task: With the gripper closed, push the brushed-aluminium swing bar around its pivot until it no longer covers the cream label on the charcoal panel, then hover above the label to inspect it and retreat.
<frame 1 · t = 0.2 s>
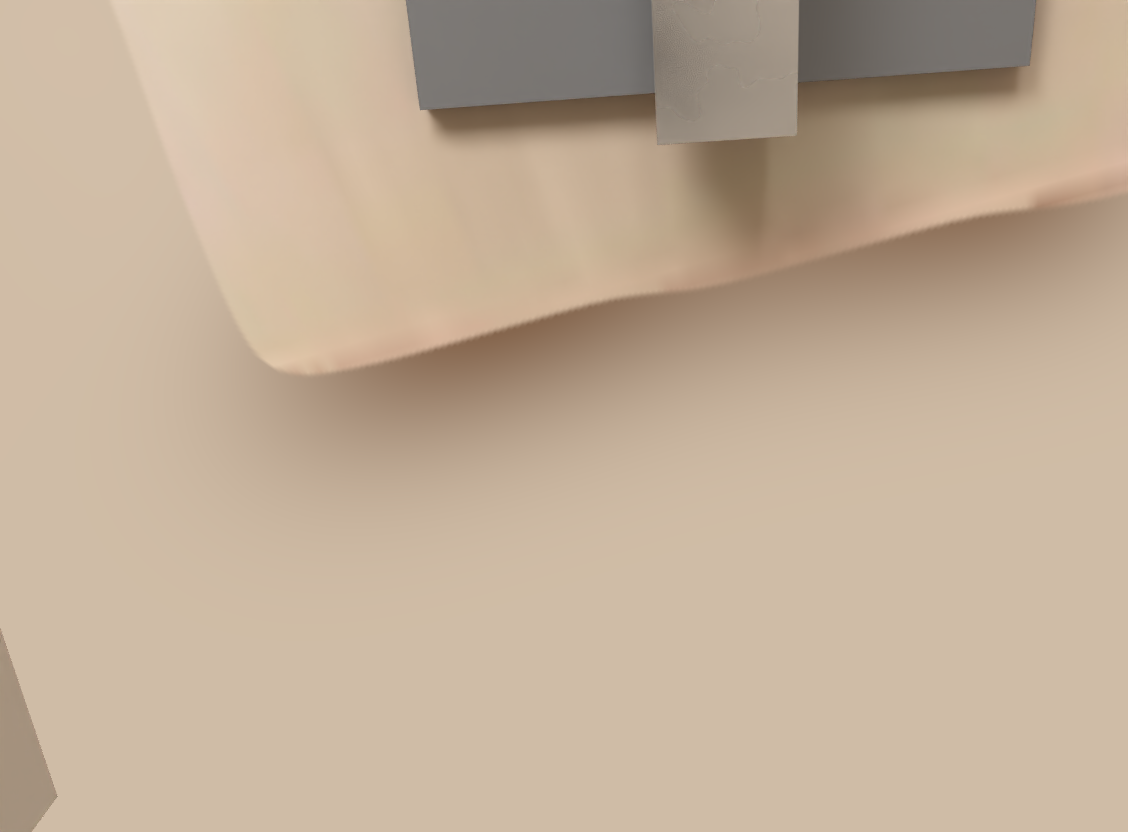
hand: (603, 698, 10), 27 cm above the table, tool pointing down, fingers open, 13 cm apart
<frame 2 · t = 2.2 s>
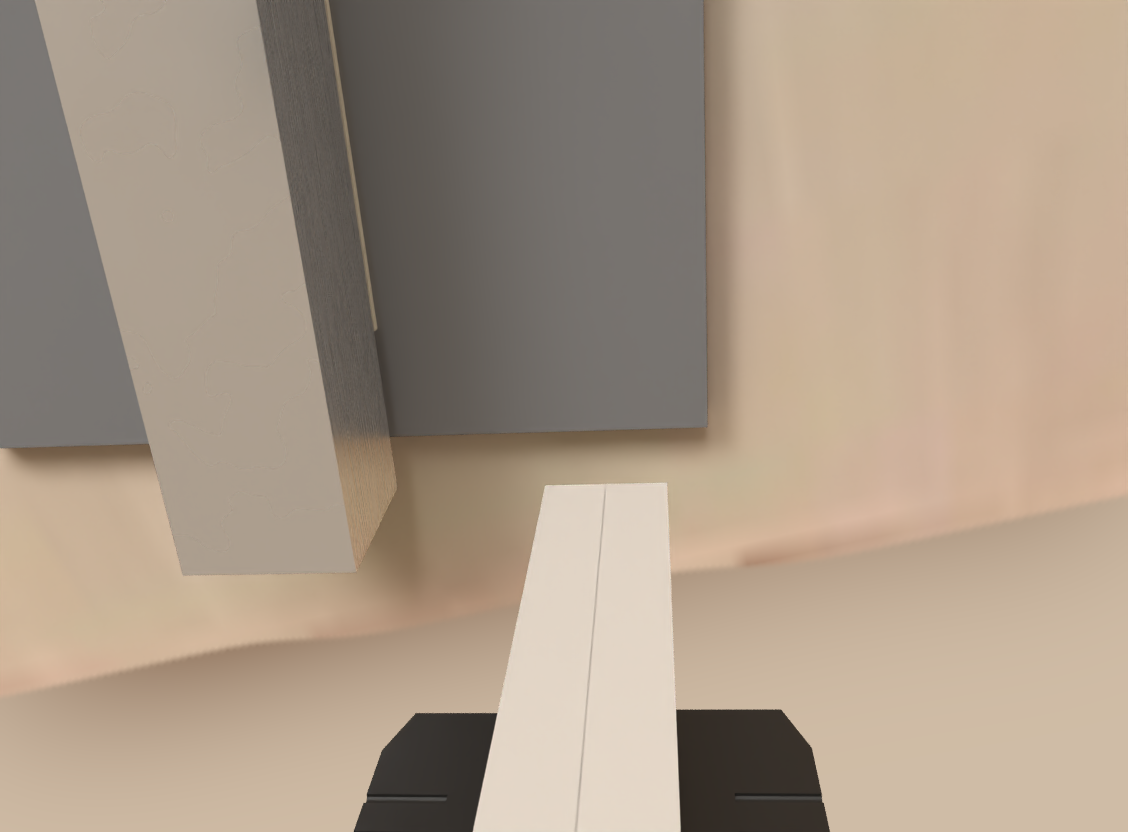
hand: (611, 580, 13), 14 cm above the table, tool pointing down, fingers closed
swing bar: (195, 72, 19), point 5 cm above the table, hinge at 0.0°
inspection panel: (270, 33, 23), on the table
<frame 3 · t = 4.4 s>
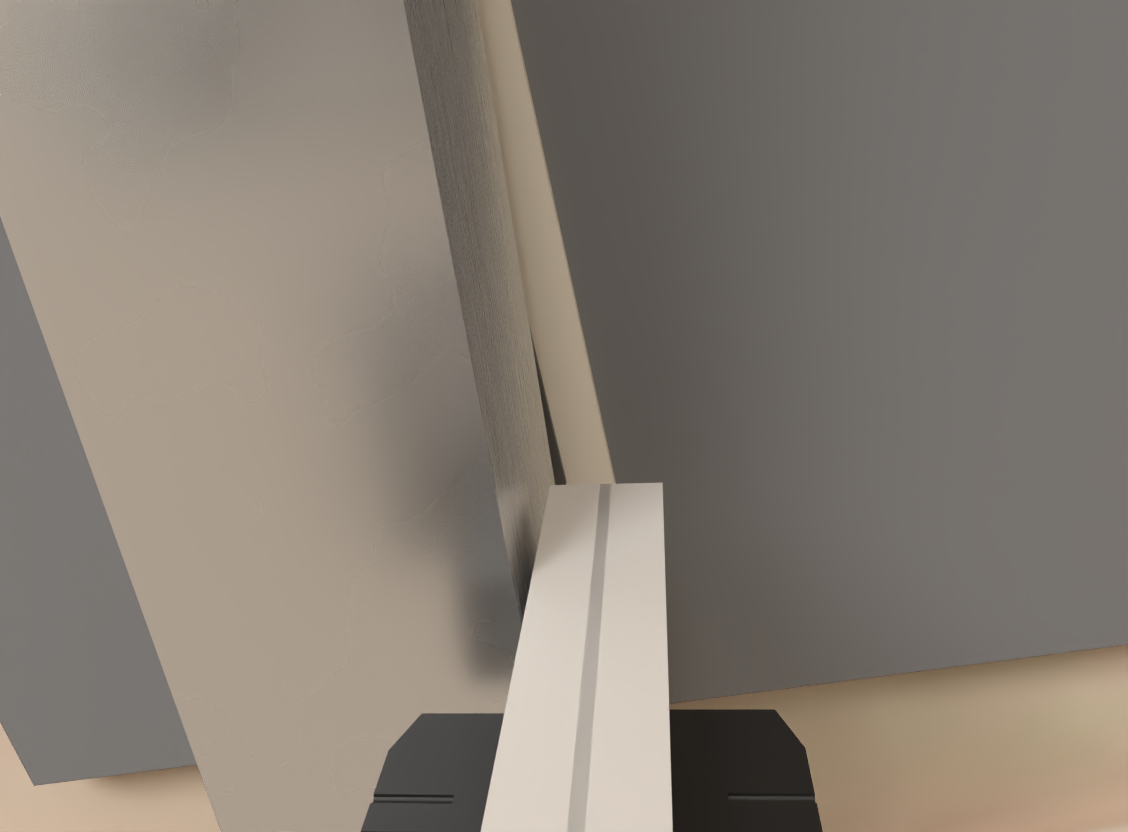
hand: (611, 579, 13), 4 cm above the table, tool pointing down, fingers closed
swing bar: (284, 225, 10), point 4 cm above the table, hinge at -4.2°, touching gripper
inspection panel: (416, 116, 14), on the table
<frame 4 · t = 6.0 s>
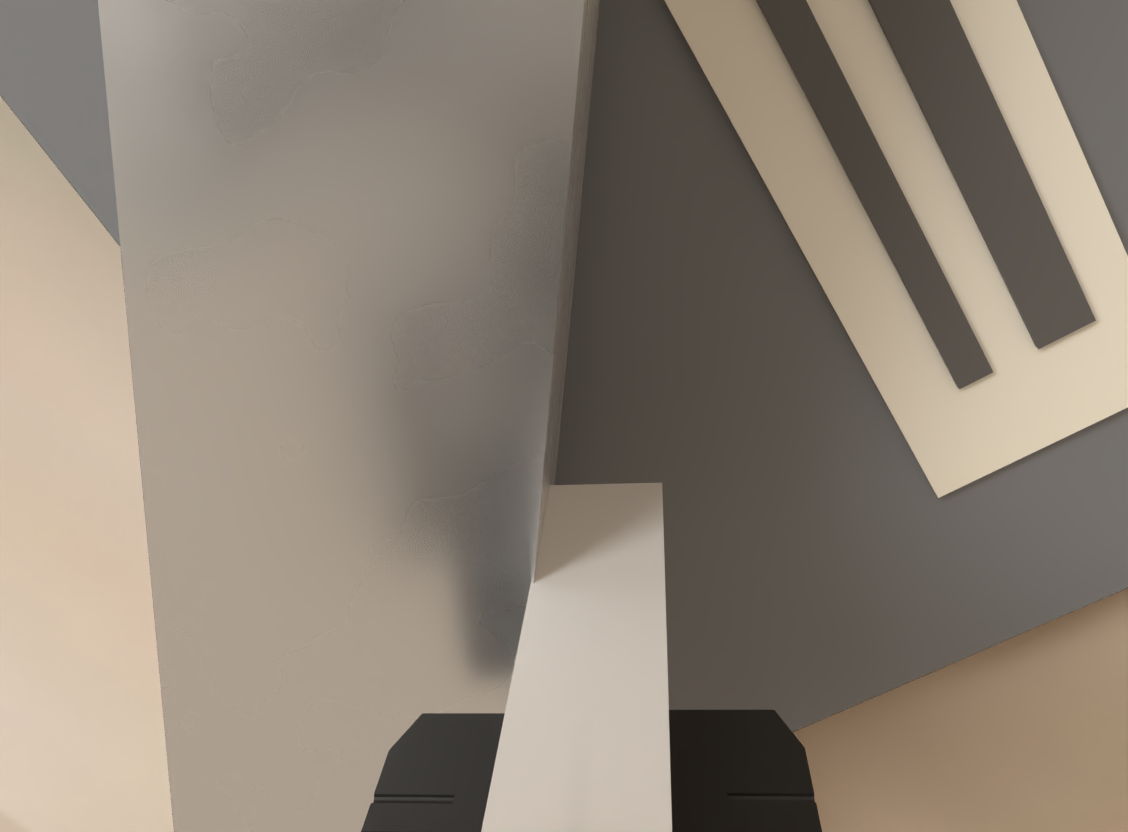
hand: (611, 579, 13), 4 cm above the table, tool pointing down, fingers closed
swing bar: (378, 176, 10), point 4 cm above the table, hinge at -37.4°, touching gripper
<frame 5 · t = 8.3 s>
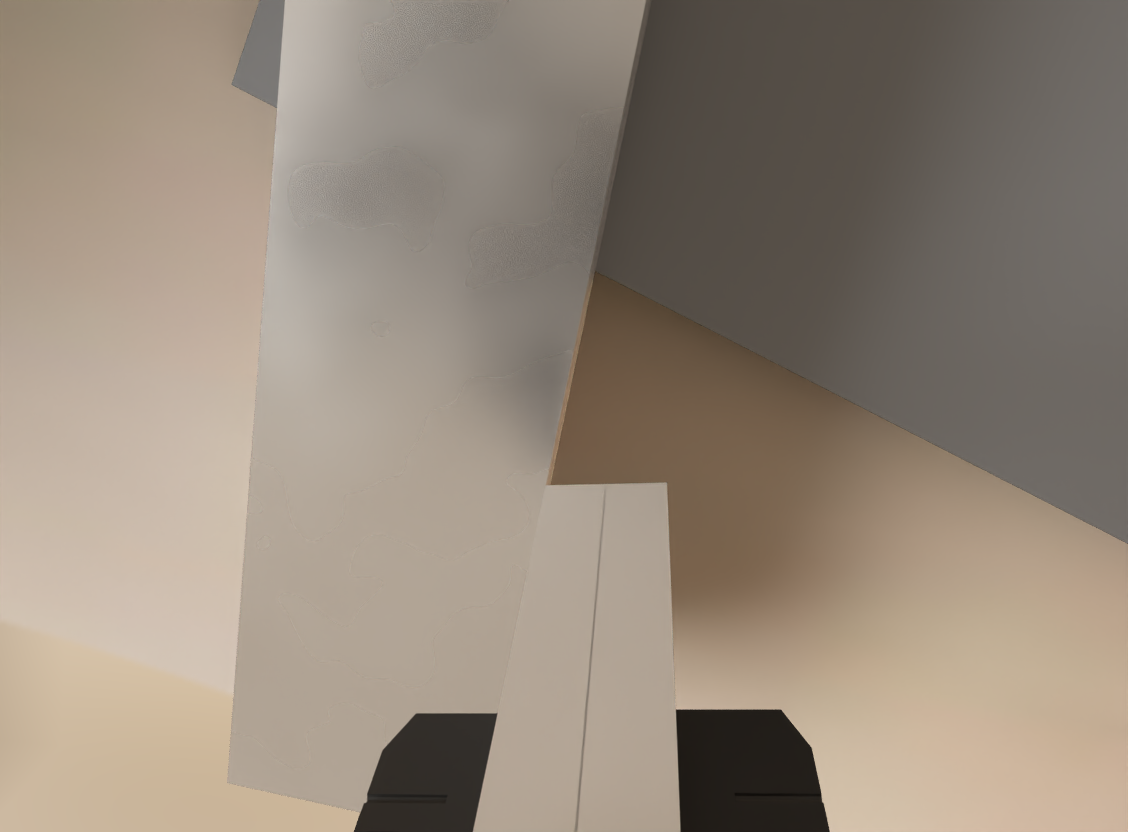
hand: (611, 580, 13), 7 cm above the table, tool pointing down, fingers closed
swing bar: (466, 127, 13), point 4 cm above the table, hinge at -74.6°
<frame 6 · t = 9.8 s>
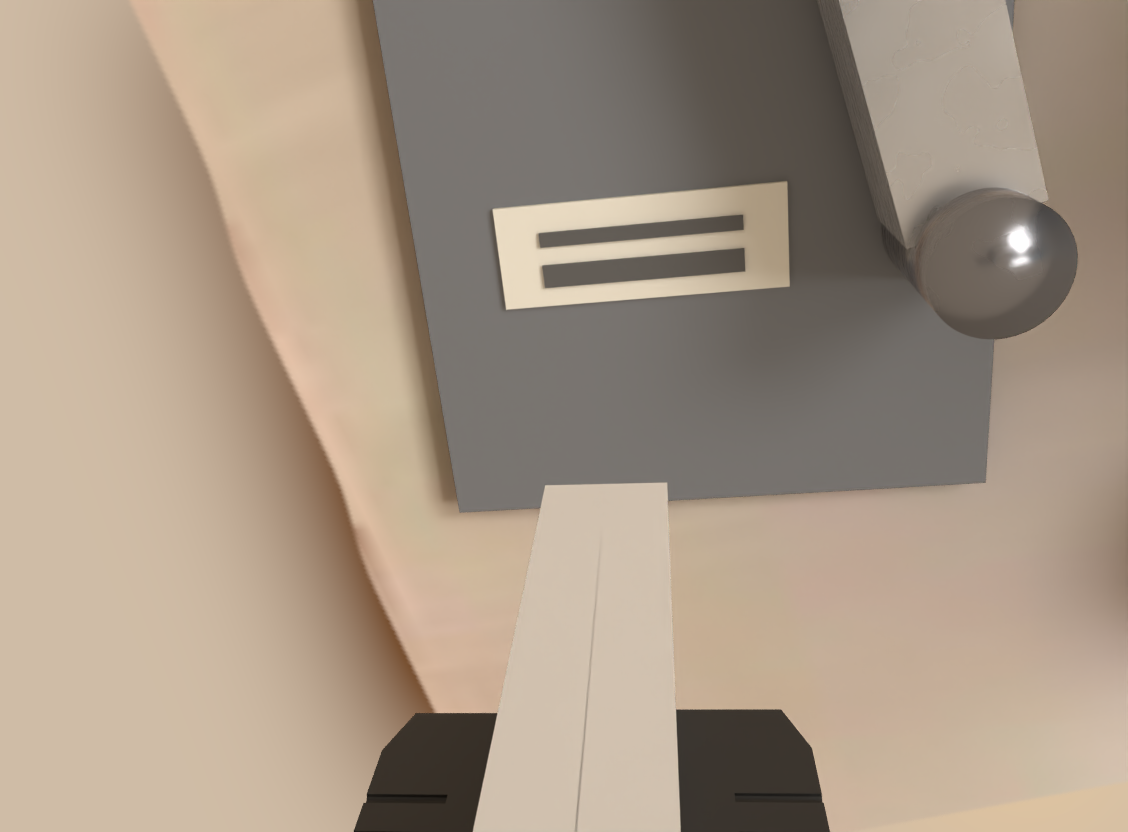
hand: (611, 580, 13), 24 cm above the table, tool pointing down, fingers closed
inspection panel: (698, 235, 35), on the table
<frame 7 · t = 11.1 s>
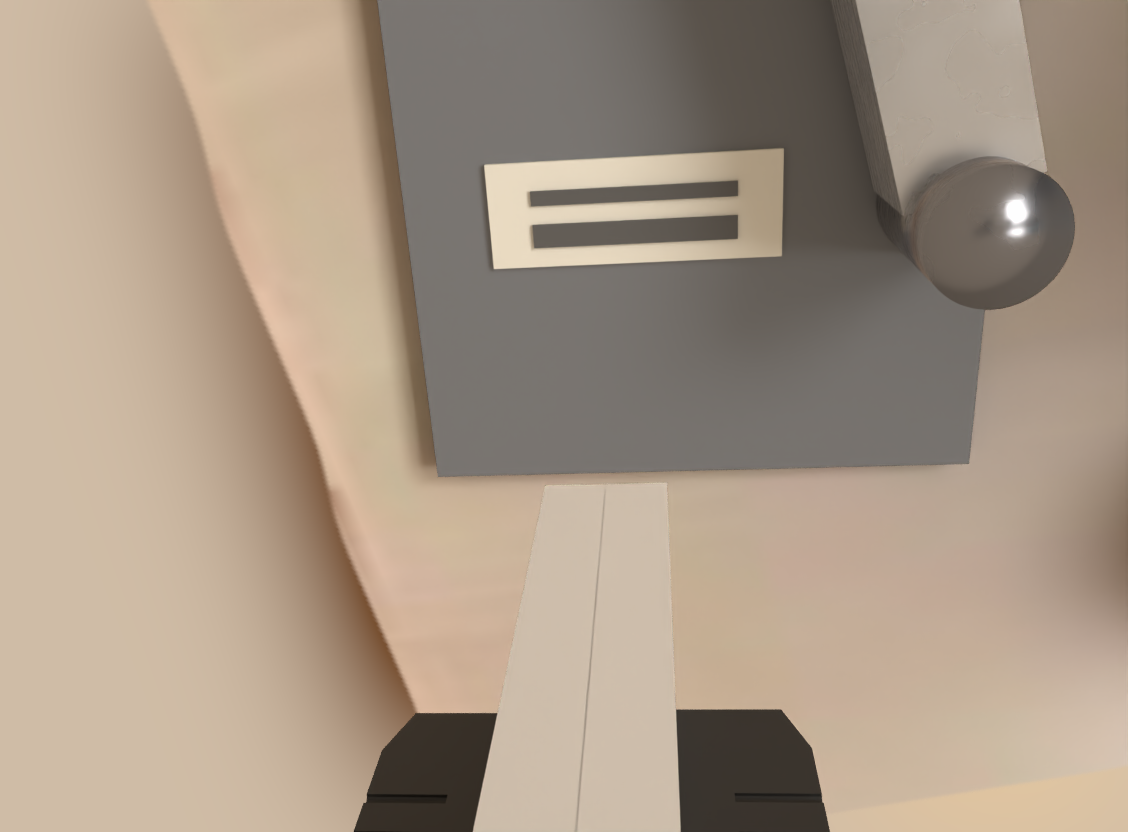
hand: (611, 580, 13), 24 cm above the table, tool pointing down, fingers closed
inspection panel: (691, 201, 35), on the table
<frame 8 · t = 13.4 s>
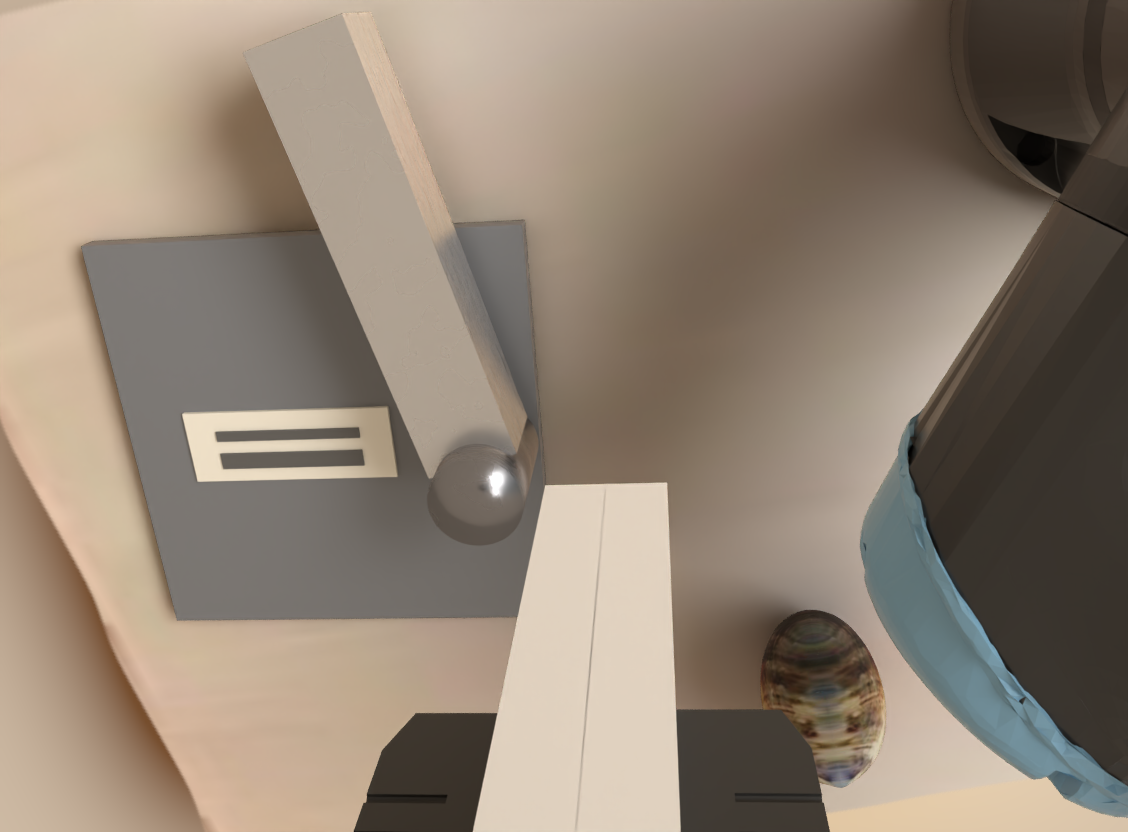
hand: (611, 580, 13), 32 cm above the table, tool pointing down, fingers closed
swing bar: (412, 292, 41), point 4 cm above the table, hinge at -74.6°
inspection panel: (338, 434, 48), on the table
seashell: (809, 649, 51), on the table
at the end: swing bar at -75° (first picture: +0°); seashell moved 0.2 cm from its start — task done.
